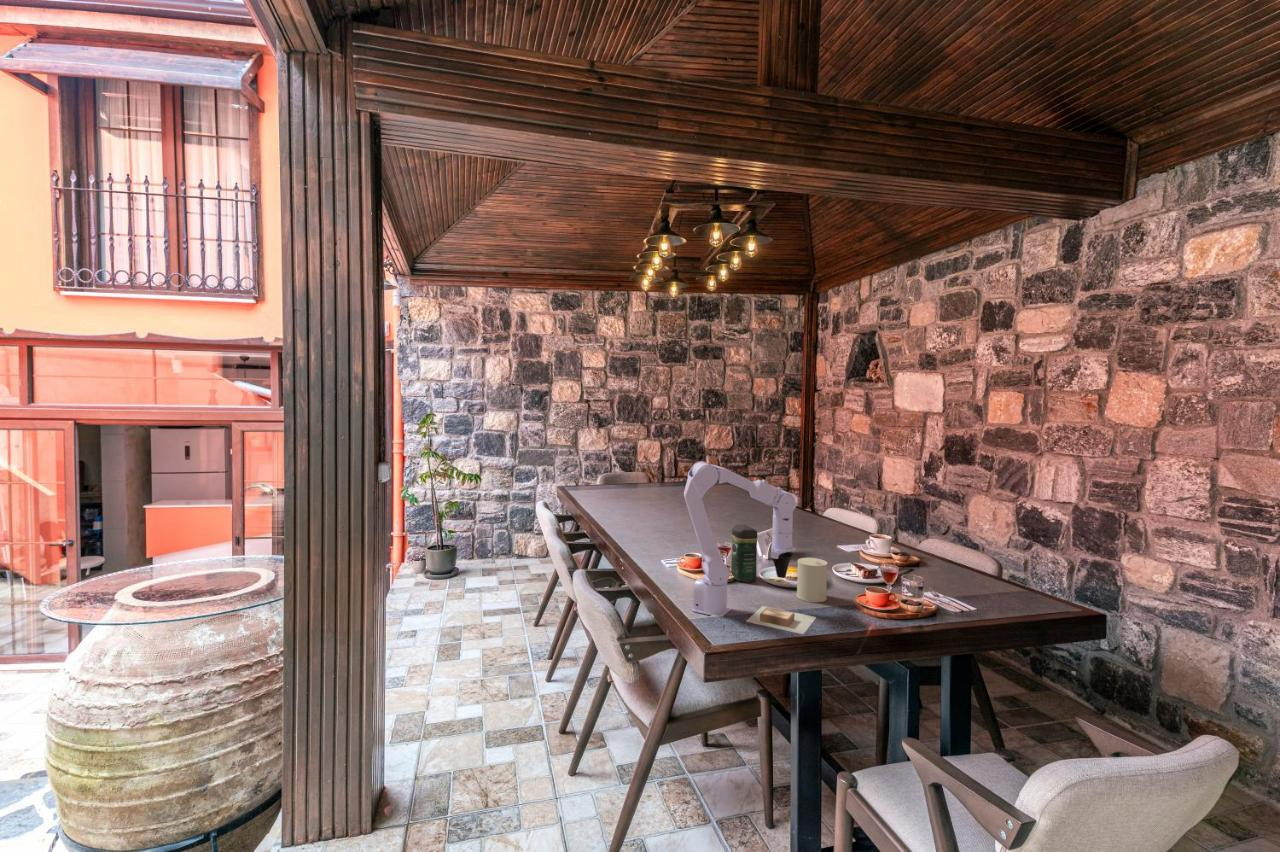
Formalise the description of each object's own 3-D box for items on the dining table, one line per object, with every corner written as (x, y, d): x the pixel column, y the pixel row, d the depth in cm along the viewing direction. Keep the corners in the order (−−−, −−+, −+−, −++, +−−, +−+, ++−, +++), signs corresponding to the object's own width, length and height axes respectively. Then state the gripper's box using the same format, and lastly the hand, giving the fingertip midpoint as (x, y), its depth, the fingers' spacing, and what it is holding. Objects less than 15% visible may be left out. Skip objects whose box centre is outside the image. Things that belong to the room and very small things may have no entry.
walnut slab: (766, 614, 165) (759, 620, 160) (767, 607, 165) (759, 613, 160) (794, 619, 161) (788, 627, 155) (794, 612, 160) (788, 619, 155)
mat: (745, 623, 159) (745, 621, 159) (762, 607, 171) (762, 605, 171) (803, 636, 151) (803, 634, 151) (816, 619, 163) (816, 617, 163)
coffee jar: (759, 582, 195) (761, 528, 194) (737, 583, 194) (738, 529, 193) (749, 573, 204) (750, 522, 204) (728, 574, 203) (729, 523, 202)
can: (812, 604, 175) (813, 565, 174) (790, 595, 183) (791, 558, 182) (833, 599, 179) (834, 561, 179) (810, 590, 187) (811, 554, 187)
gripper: (788, 538, 160) (787, 586, 161) (802, 528, 173) (801, 573, 173) (764, 535, 164) (763, 581, 165) (779, 525, 176) (778, 569, 177)
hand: (781, 577), depth 169 cm, fingers closed
